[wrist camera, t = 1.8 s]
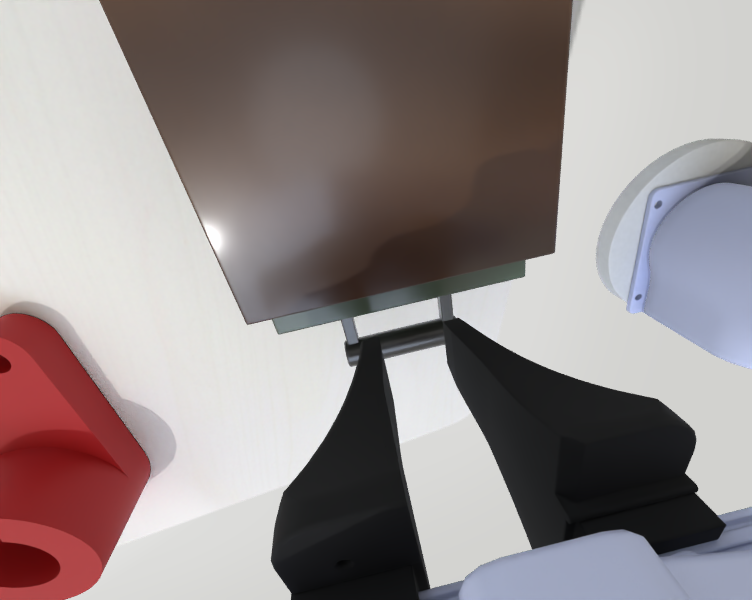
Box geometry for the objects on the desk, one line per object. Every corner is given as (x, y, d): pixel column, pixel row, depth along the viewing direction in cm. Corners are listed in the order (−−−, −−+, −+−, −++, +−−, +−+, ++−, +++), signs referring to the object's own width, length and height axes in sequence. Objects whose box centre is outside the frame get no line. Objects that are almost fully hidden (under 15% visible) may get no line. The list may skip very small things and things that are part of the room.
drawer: (466, 295, 22) (523, 367, 16) (315, 331, 22) (311, 418, 15) (440, -70, 14) (539, -233, 7) (197, -19, 14) (83, -141, 7)
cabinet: (464, 200, 20) (555, 253, 12) (278, 242, 20) (246, 326, 12) (442, -142, 13) (611, -519, 6) (163, -85, 13) (-83, -394, 5)
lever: (160, 499, 29) (118, 596, 23) (31, 506, 27) (-49, 612, 21) (107, 316, 20) (20, 393, 15) (-82, 310, 19) (-262, 395, 13)
